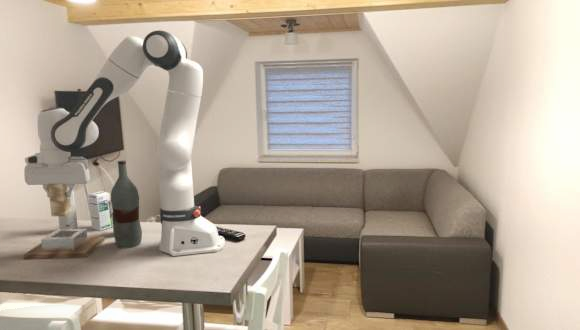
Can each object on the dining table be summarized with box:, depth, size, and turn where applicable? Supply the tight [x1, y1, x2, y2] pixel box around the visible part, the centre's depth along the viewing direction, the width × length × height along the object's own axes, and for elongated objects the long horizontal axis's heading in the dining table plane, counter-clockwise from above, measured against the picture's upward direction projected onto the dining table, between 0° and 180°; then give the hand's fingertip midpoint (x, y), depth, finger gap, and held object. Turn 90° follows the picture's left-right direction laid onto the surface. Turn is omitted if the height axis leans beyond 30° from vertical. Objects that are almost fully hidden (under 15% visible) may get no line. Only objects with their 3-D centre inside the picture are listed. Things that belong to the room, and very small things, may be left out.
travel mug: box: [57, 187, 79, 230], centre depth 166 cm, size 6×7×20 cm
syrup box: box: [87, 190, 113, 232], centre depth 169 cm, size 6×6×14 cm
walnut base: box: [22, 235, 105, 260], centre depth 148 cm, size 20×16×2 cm
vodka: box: [110, 160, 143, 249], centre depth 149 cm, size 9×9×30 cm
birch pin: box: [48, 184, 71, 217], centre depth 145 cm, size 4×4×11 cm
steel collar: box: [40, 228, 89, 251], centre depth 147 cm, size 10×10×4 cm
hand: (59, 197), depth 145 cm, fingers closed on birch pin, 4 cm apart
